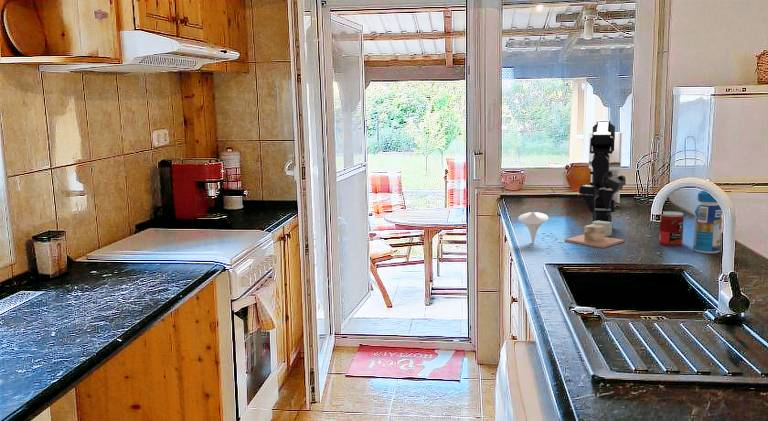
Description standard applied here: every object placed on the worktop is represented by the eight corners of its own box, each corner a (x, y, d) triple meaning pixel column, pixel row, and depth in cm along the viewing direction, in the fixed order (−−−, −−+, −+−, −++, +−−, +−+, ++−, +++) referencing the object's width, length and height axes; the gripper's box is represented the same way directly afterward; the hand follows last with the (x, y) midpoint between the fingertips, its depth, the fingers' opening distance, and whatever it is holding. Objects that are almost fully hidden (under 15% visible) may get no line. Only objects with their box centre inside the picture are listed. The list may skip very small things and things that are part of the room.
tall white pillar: (587, 204, 325) (589, 132, 319) (608, 203, 326) (610, 131, 320) (597, 208, 313) (599, 133, 308) (619, 207, 315) (621, 132, 309)
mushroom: (546, 246, 236) (546, 213, 234) (515, 244, 240) (516, 212, 238) (549, 240, 246) (550, 208, 244) (520, 239, 250) (520, 207, 248)
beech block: (584, 239, 242) (584, 226, 241) (592, 237, 245) (592, 224, 244) (596, 241, 238) (596, 227, 237) (604, 239, 241) (604, 225, 240)
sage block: (591, 234, 255) (592, 221, 254) (597, 233, 257) (598, 220, 256) (605, 236, 250) (606, 223, 249) (611, 235, 253) (612, 222, 252)
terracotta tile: (564, 241, 244) (564, 239, 244) (585, 236, 252) (585, 233, 252) (603, 247, 232) (603, 245, 231) (623, 242, 240) (623, 239, 240)
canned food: (672, 247, 230) (673, 215, 228) (653, 243, 237) (654, 212, 235) (687, 244, 233) (688, 213, 232) (668, 240, 240) (669, 210, 239)
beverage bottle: (688, 248, 227) (691, 190, 224) (713, 248, 227) (716, 190, 223) (699, 254, 219) (702, 194, 215) (725, 253, 218) (728, 193, 215)
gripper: (606, 172, 228) (605, 217, 231) (635, 167, 240) (633, 209, 243) (578, 170, 237) (577, 213, 240) (607, 165, 248) (606, 206, 251)
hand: (599, 210), depth 243 cm, fingers open, 9 cm apart
